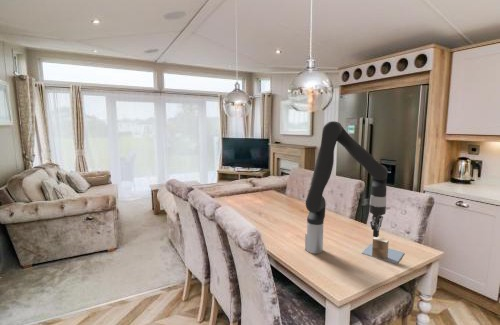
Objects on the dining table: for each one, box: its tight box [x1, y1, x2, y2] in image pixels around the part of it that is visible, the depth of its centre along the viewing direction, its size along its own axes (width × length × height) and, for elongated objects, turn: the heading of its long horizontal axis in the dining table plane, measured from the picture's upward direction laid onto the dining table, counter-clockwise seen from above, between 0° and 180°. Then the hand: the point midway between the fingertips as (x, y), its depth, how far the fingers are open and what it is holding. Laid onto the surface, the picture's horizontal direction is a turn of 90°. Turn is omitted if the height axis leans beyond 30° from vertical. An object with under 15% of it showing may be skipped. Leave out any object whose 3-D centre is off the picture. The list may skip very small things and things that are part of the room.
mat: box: [361, 243, 405, 265], centre depth 150 cm, size 18×16×1 cm
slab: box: [371, 236, 390, 261], centre depth 145 cm, size 7×4×10 cm, turn 48°
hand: (375, 236), depth 137 cm, fingers closed
